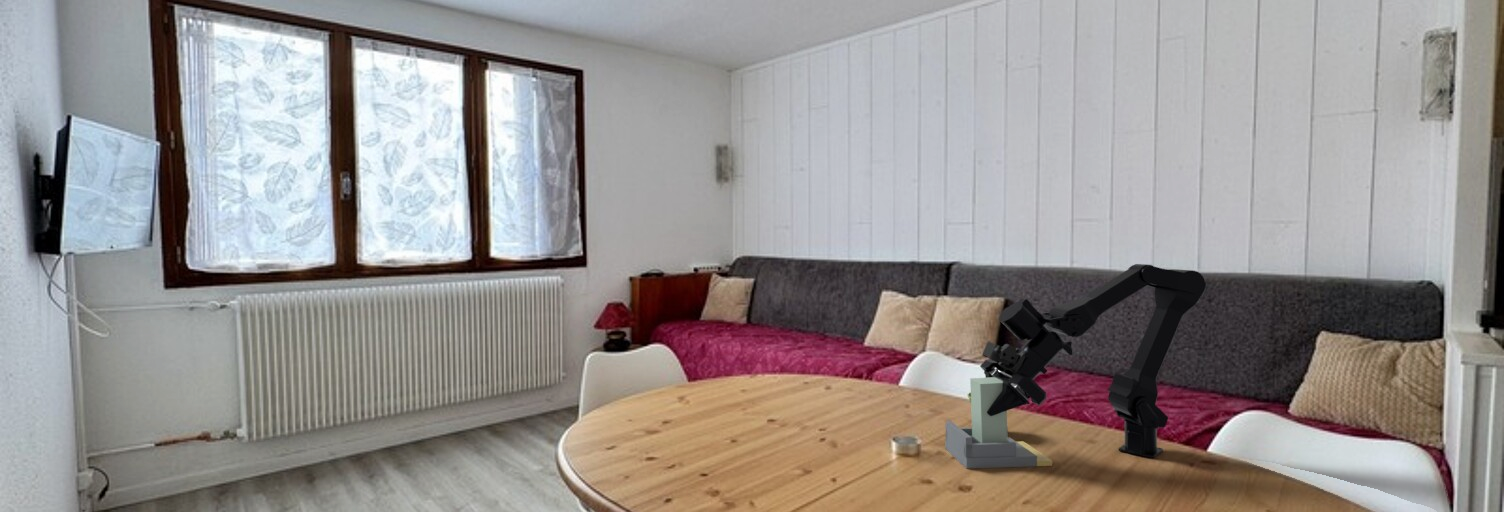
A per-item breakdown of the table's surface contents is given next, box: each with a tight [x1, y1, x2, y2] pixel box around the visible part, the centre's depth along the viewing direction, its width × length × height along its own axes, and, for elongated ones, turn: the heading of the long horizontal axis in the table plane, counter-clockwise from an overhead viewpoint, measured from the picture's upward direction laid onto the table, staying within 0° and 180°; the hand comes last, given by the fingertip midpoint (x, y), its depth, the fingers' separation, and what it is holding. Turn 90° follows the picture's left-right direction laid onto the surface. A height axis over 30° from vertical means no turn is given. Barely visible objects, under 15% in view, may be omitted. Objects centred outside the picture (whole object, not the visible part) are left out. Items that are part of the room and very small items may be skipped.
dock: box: [944, 420, 1053, 470], centre depth 131 cm, size 17×12×6 cm
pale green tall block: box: [969, 377, 1009, 443], centre depth 131 cm, size 6×6×14 cm
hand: (983, 410), depth 131 cm, fingers closed on pale green tall block, 5 cm apart
